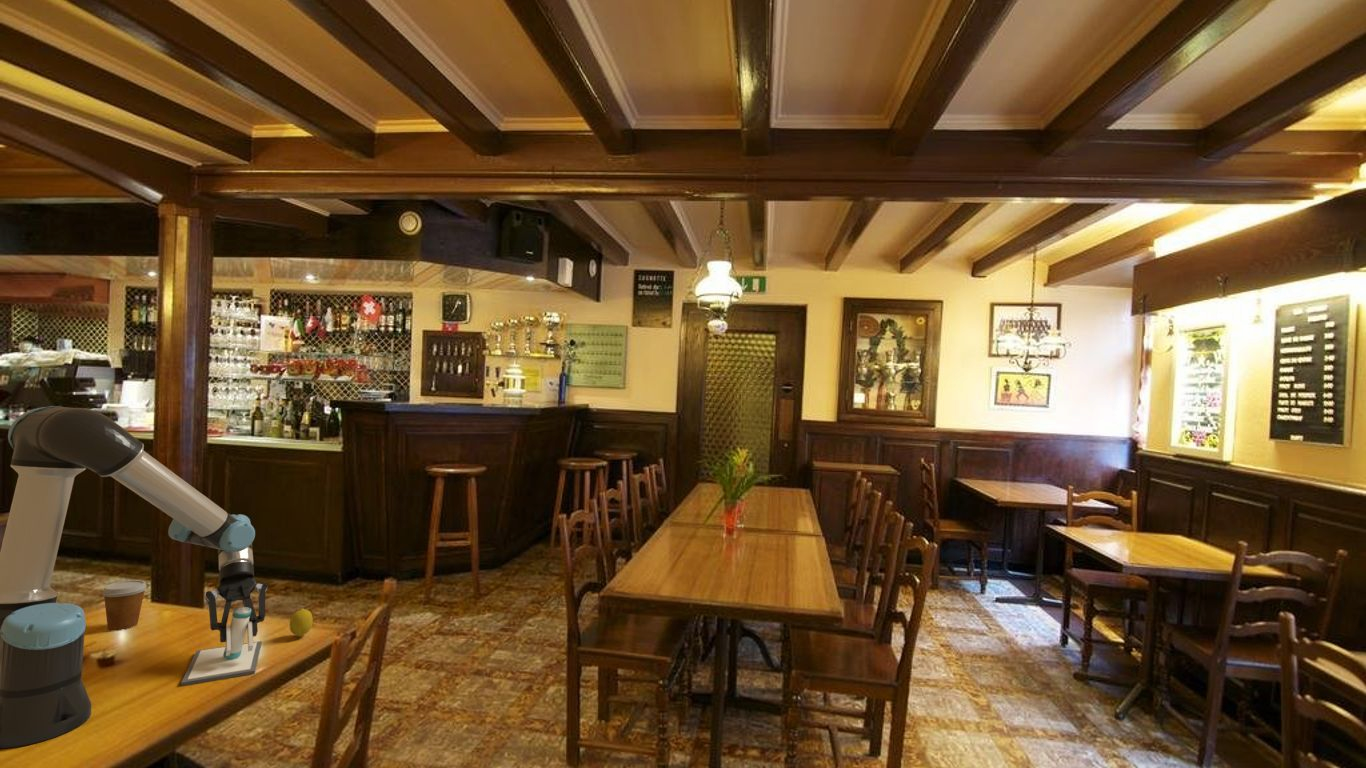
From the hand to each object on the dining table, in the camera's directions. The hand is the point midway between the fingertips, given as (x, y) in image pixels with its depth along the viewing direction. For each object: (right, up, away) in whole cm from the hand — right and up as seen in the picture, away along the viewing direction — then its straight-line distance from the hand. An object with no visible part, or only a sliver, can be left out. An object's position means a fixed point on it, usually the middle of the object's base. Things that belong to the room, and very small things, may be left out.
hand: (239, 650), depth 149 cm
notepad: (-6, -5, +3) cm, 8 cm away
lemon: (+2, -5, +21) cm, 21 cm away
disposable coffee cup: (-51, -4, +24) cm, 56 cm away
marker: (-5, -3, +4) cm, 7 cm away
